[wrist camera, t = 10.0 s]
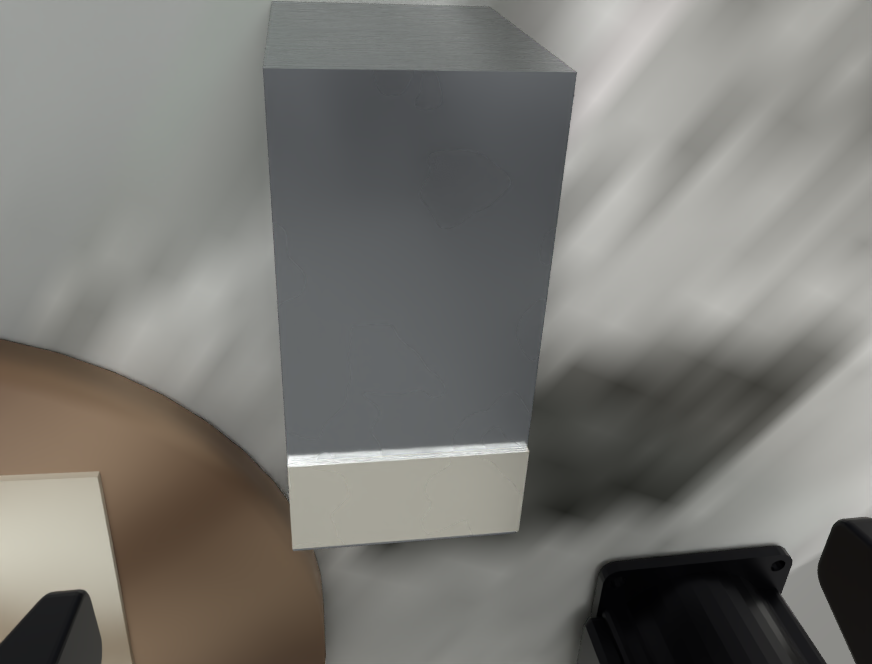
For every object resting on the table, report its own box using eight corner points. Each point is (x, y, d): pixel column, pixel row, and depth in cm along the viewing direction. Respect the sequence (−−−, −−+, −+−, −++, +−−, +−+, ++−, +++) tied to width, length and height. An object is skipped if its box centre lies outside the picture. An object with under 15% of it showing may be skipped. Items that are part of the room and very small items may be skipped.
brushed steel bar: (272, 0, 16) (262, 71, 11) (488, 5, 16) (580, 74, 11) (292, 377, 20) (292, 557, 15) (461, 369, 21) (517, 538, 16)
